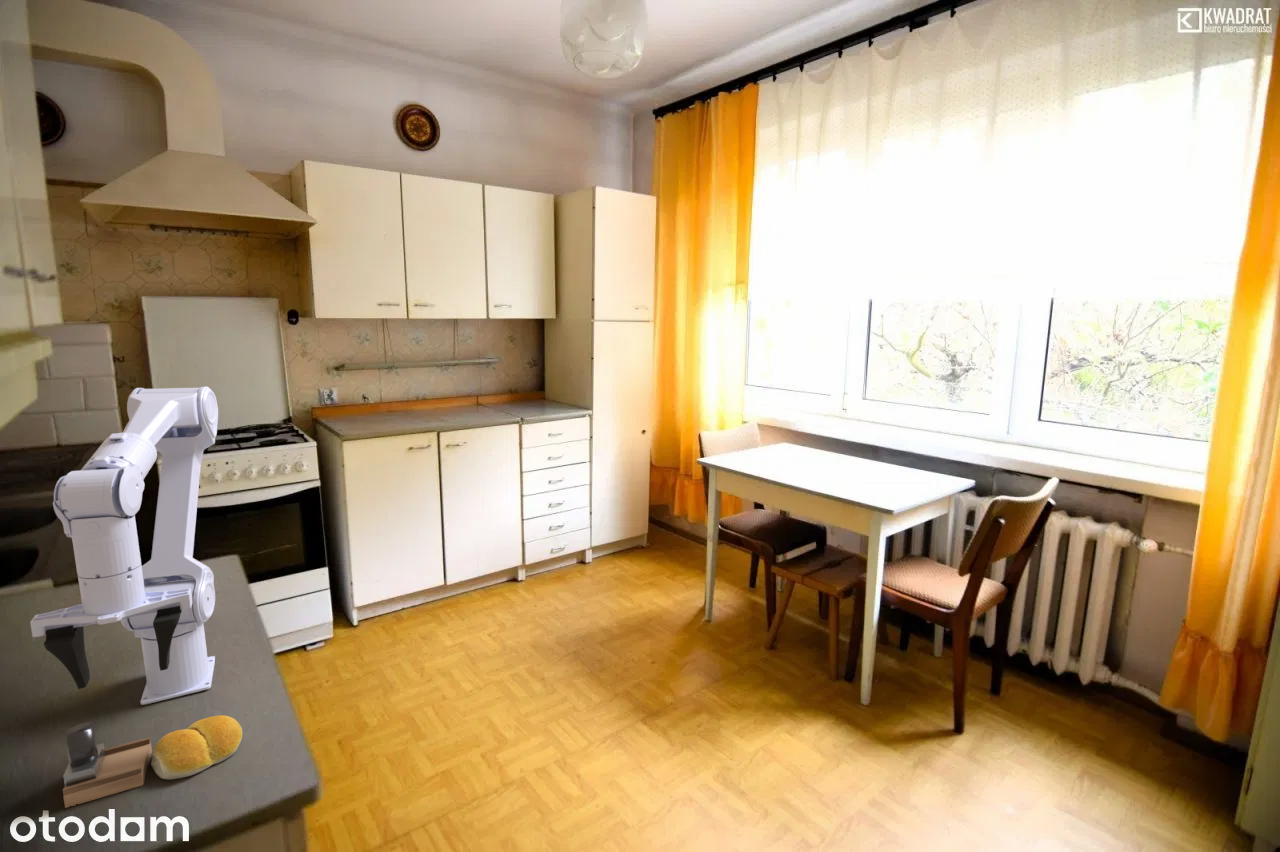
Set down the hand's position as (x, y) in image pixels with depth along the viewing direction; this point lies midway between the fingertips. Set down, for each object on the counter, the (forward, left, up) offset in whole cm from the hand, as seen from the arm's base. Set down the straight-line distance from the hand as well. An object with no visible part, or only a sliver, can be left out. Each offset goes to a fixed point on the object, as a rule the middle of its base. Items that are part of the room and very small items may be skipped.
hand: (125, 674), depth 75 cm
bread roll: (+5, +7, -10) cm, 13 cm away
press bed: (+5, -2, -10) cm, 11 cm away
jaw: (+5, -4, -8) cm, 10 cm away
